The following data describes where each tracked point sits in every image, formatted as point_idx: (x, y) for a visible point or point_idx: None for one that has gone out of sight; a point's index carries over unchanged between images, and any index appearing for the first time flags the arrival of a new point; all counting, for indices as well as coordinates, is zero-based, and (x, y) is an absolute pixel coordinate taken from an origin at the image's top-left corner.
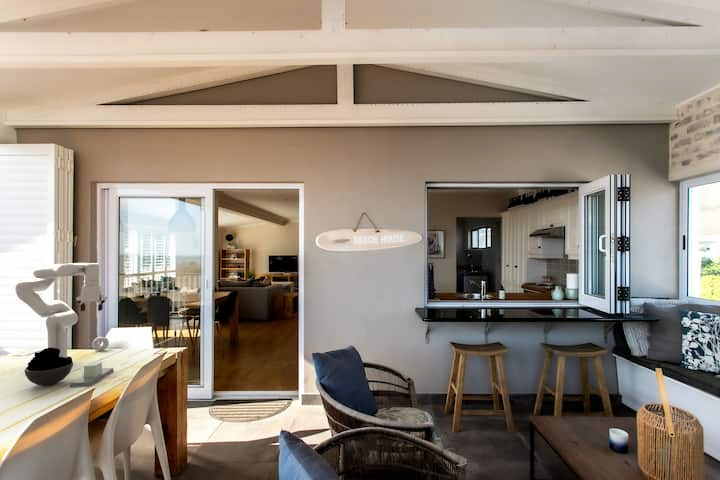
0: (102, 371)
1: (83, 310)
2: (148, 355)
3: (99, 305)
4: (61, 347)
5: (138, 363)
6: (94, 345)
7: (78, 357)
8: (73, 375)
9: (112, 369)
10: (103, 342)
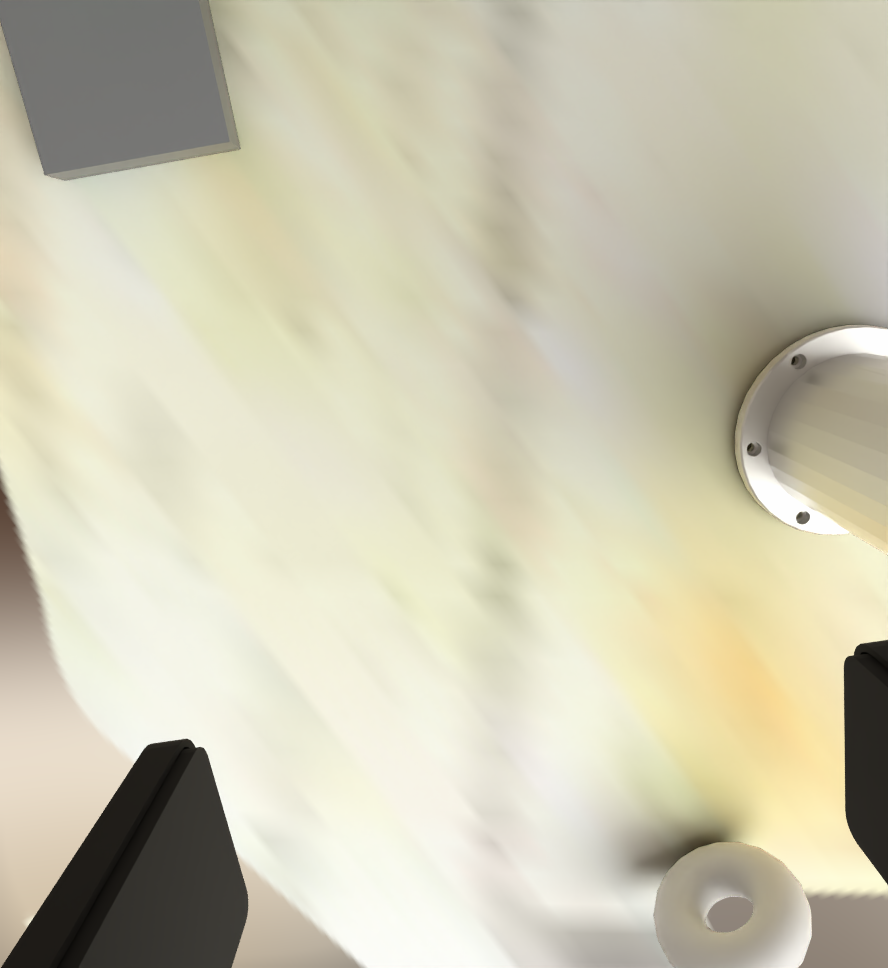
0: (63, 34)
1: (855, 729)
2: (114, 709)
3: (21, 960)
4: (881, 430)
5: (11, 452)
6: (763, 870)
7: (777, 655)
8: (392, 38)
9: (45, 155)
10: (700, 925)
